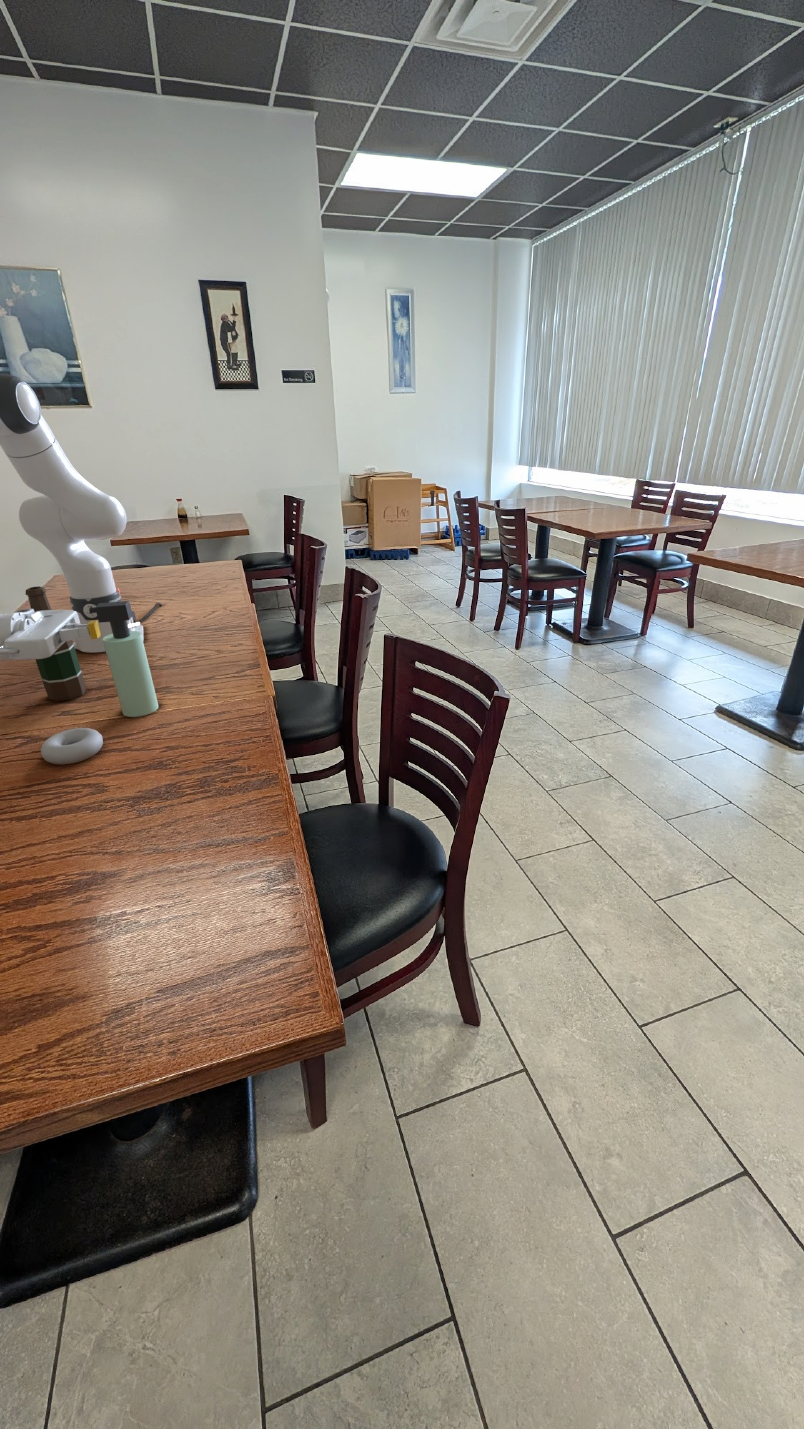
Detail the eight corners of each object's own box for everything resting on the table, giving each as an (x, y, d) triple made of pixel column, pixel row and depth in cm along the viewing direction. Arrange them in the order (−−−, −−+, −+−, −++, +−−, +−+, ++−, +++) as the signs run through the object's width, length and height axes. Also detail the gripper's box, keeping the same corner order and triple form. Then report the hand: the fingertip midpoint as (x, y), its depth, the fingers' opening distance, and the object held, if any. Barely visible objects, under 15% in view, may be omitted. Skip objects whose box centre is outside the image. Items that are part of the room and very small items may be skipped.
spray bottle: (121, 705, 124) (93, 601, 115) (161, 701, 126) (136, 597, 116) (113, 719, 118) (83, 610, 108) (155, 714, 120) (128, 607, 110)
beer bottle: (71, 702, 127) (36, 593, 116) (40, 700, 128) (3, 592, 118) (94, 688, 133) (64, 583, 123) (65, 686, 135) (32, 583, 124)
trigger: (94, 635, 115) (90, 620, 114) (101, 634, 115) (97, 620, 114) (91, 639, 113) (87, 624, 112) (97, 638, 113) (93, 623, 112)
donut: (74, 772, 100) (117, 744, 108) (68, 755, 98) (112, 727, 107) (31, 764, 103) (75, 737, 112) (24, 747, 102) (70, 721, 110)
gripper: (-17, 637, 101) (69, 630, 103) (27, 606, 119) (100, 601, 121) (-5, 671, 103) (79, 663, 106) (37, 636, 122) (107, 630, 124)
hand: (90, 630), depth 113 cm, fingers closed, pressing on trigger
